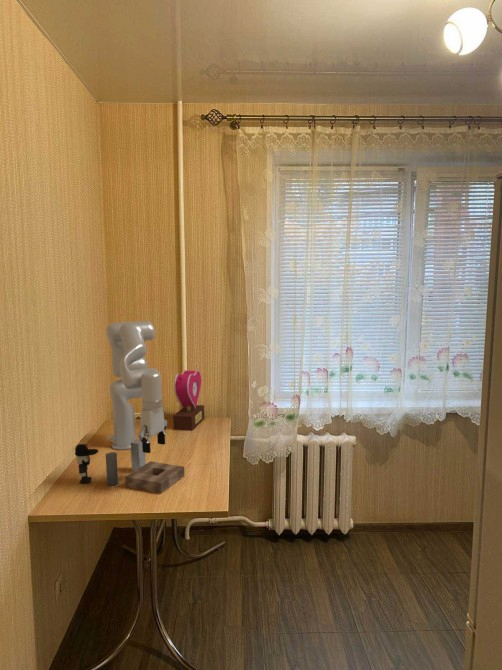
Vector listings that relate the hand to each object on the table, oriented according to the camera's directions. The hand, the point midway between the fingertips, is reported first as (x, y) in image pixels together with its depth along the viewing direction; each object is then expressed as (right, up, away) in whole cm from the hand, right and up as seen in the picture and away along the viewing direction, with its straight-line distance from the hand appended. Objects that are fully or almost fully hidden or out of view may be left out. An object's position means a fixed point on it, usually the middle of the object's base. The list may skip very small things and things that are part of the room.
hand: (154, 448), depth 179 cm
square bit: (-9, -12, +13) cm, 20 cm away
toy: (-26, -14, +3) cm, 30 cm away
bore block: (0, -13, +2) cm, 13 cm away
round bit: (-16, -14, 0) cm, 21 cm away
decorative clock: (+4, -5, +73) cm, 73 cm away
